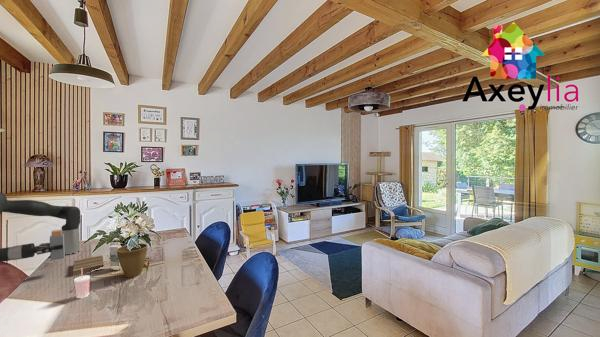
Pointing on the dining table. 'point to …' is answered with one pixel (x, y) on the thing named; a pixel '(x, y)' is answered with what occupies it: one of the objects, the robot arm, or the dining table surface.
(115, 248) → the syrup box
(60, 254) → the grey open box
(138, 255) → the plant pot
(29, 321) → the dining table surface
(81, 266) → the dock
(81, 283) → the beverage cup
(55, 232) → the block
